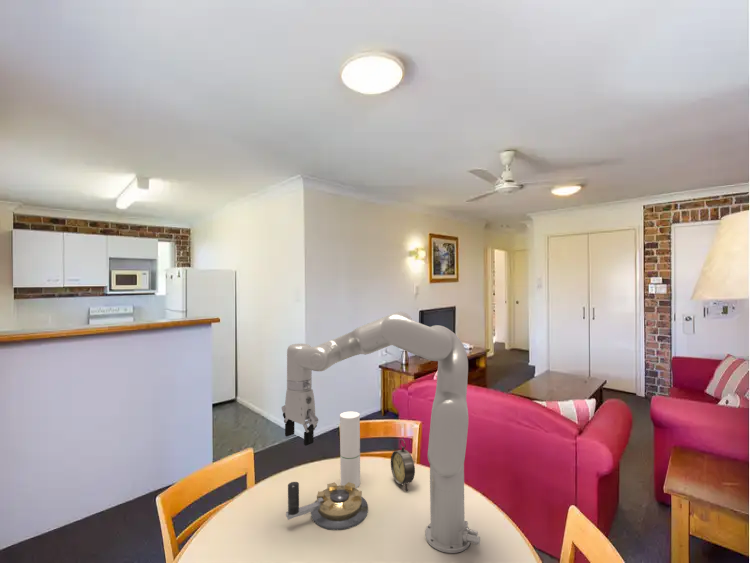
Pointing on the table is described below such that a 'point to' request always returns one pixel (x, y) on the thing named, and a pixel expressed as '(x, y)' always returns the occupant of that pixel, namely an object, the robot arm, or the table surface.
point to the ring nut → (327, 502)
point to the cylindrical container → (350, 448)
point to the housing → (341, 523)
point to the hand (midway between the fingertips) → (298, 439)
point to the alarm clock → (402, 466)
